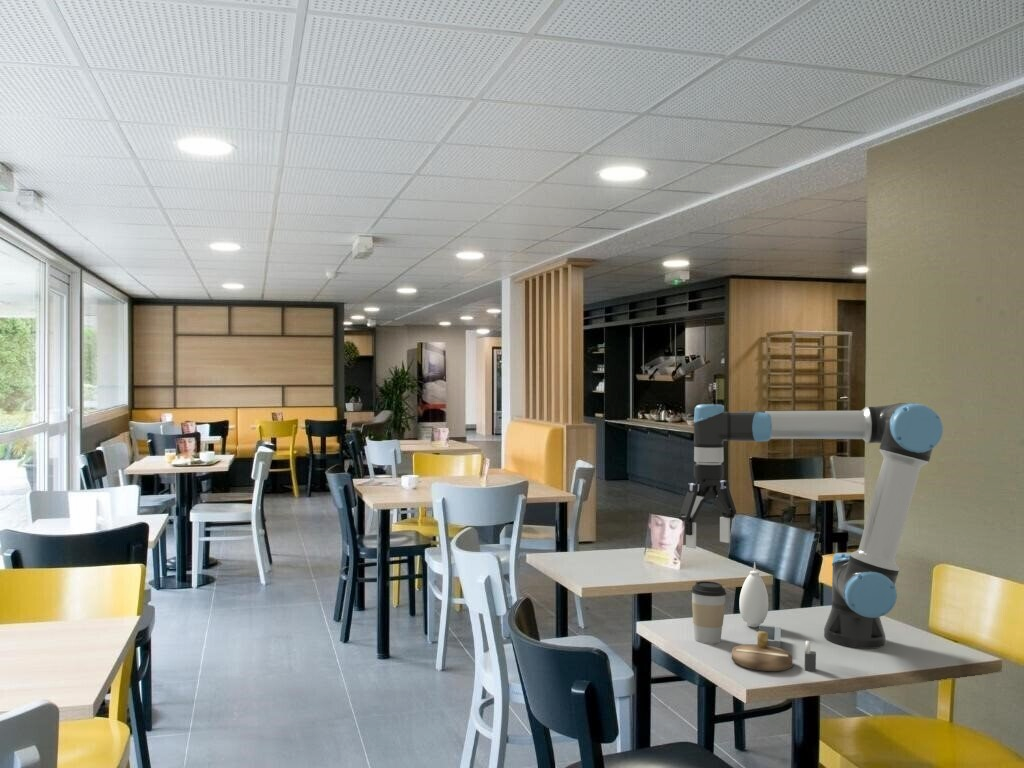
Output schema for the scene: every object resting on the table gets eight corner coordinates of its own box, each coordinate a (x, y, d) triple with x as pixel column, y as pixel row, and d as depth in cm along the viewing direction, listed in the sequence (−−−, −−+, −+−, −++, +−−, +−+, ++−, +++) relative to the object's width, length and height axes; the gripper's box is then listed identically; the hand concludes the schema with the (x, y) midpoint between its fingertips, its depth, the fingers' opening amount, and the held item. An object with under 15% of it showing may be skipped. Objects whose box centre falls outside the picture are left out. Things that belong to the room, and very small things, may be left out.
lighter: (815, 667, 200) (815, 640, 200) (815, 672, 197) (816, 644, 197) (804, 666, 200) (805, 639, 200) (804, 670, 197) (805, 642, 197)
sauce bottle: (765, 631, 229) (767, 566, 229) (736, 627, 232) (738, 562, 232) (769, 625, 236) (771, 561, 236) (741, 621, 239) (743, 558, 239)
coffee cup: (722, 635, 224) (723, 579, 225) (727, 645, 215) (729, 587, 216) (688, 633, 225) (689, 578, 225) (692, 643, 216) (693, 585, 216)
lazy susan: (792, 656, 206) (792, 634, 206) (792, 673, 193) (793, 650, 193) (733, 649, 211) (733, 627, 211) (730, 666, 197) (730, 643, 197)
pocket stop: (780, 640, 222) (780, 626, 222) (780, 656, 208) (780, 642, 208) (758, 637, 223) (759, 624, 223) (757, 653, 210) (757, 639, 210)
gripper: (727, 460, 229) (726, 537, 229) (665, 464, 214) (664, 547, 214) (750, 462, 223) (749, 541, 223) (688, 466, 208) (687, 552, 208)
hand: (708, 545), depth 218 cm, fingers open, 13 cm apart
